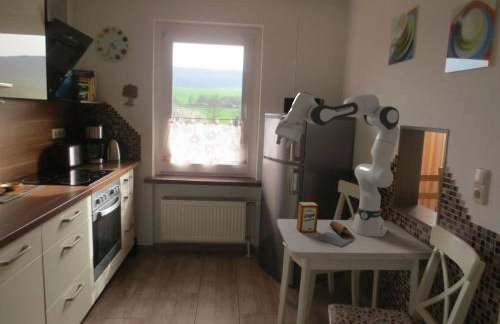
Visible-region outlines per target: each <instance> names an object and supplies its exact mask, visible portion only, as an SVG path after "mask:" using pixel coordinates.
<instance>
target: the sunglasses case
mask: <svg viewBox="0 0 500 324" xmlns="http://www.w3.org/2000/svg"><path fill="white" fill-rule="evenodd" d="M329 226H330V227H331V228H332V229H333V230H334V231H336V233H337V234H338V235H340V236H341V237H344V238H349V239H353V238H355V236H354V234H353V233H352V232H351V231H350V230H348V227H346V226H345V225H344V224H342V223H340V222H337V221H334V220H333V221H331V222H330V223H329Z"/></svg>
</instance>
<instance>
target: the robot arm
mask: <svg viewBox="0 0 500 324" xmlns="http://www.w3.org/2000/svg"><path fill="white" fill-rule="evenodd" d="M361 116H363V120H364V122H365V123H366V124H367V125H369V126H370V127H377V134H376V137H375V139H374V141H373V143H372V147H371V149H370V155H371V157H372V164H370V163H360V164H358V165H357V166H356V167H355V169H354V176H355V178H356V180H357V183H358V187H359V193H360V194H359V203H358V204H359V205H358V208H357V214H355V216H354V220H353V225H351V226H350V228H351V230H353V232H355V233H356V234H358V235H361V236H365V237H379V238H383V237H384V236H385V235H386V233H387V232H388V228H387V227H384V223H385V221H384V219H383V218H382V216H381V213H382V212H383V209H382V208H381V200H382V197H381V196H382V195H381V194H380V191H379V190H378V188H383V189H384V188H388V187H390V186H391V185H392V183H394V182H393V181H394V174H393V172H392V170H391V160H392V155H393V153H394V150H395V148H396V145H397V141H398V138H399V131H400V129H399V126H398V124H399V120H400V113H399V110H398V109H397V108H396V107H394V106H389V105H387V106H386V105H384V106H383V105H380V100H379V98H378V96H376V95H375V94H373V93H371V94H370V93H369V94H368V93H367V94H359V95H353V96H350V97H348V98H346V99H344V101H343V104H337V105H333V106H330V105H326V104H320V105H319V104H318V103H317V101H316V100H315V98H314V95H313V94H311V93H309V92H306V91H305V92H303V91H302V92H299V93H298V94H297V95H296V97H295V98H294V100H293V102H292V104H291V107H290V110H289V111H288V112H287V114H285V115H282V116H281V117H280V119H279V122H278V123H277V126H276V128H275V132H274V133H275V135H277V136H276V137H277V138H276V142H275V144H276V145H281V143H282V141H281V140H282V139H284V138H285V139H288V141H287V142H286V143H285V144H284V148H286V149H289V148H290V146H291V145H292V144H293V143H294V142H296V143H298V142H299V141H300V140H301V137H302V134H303V131H304V124H303V122H304V121H305V122H307V123H308V124H312V125H317V126H326V125H328V124H330V123H331V122H332V121H334V120H337V119H340V118H346V117H348V118H355V117H361Z"/></svg>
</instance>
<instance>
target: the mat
mask: <svg viewBox="0 0 500 324" xmlns="http://www.w3.org/2000/svg"><path fill="white" fill-rule="evenodd" d="M314 239H317V240H319V241H323V242H324V243H328V244H331V245H334V246H337V247H340V248H342V247H344V246H347V244H349V243H352V242H353V241H354V239H353V238H344V237H341V235H339V234H338V233H334V232H331V231H326V232H323V233H321V234H318V235H317V236H314Z"/></svg>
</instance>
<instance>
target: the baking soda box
mask: <svg viewBox="0 0 500 324" xmlns="http://www.w3.org/2000/svg"><path fill="white" fill-rule="evenodd" d="M297 206H298V207H297V215H296V216H297V218H296V229H297V231H298V233H302V234H304V233H306V234H307V233H313V234H316V233H317V228H318V216H319V205H318V204H317V203H316V202H312V201H309V202H308V201H306V202H304V201H299V202H298V204H297Z"/></svg>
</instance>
